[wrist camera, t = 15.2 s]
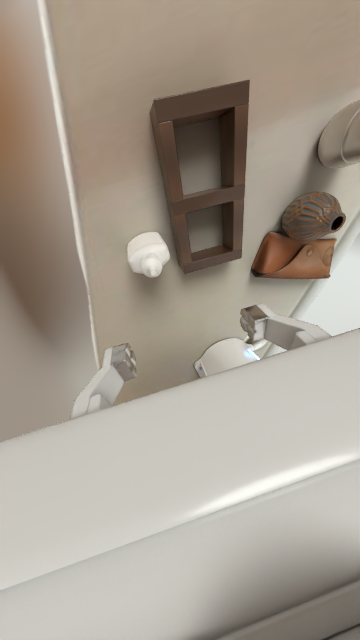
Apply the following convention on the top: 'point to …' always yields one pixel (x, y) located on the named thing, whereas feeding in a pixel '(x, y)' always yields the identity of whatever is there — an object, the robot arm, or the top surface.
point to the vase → (313, 216)
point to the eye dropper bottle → (147, 254)
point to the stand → (233, 133)
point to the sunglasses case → (293, 258)
